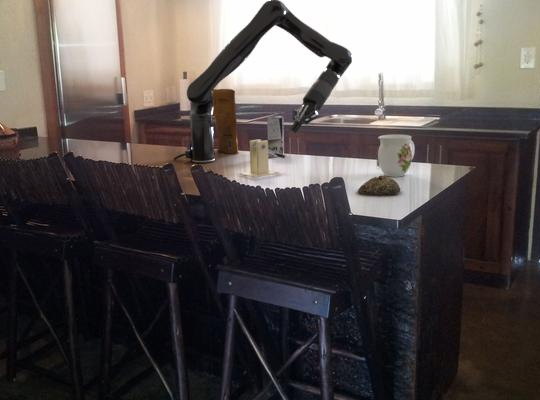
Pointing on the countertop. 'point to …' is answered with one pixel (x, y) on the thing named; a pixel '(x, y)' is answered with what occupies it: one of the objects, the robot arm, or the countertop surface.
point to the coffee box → (275, 135)
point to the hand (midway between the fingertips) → (292, 131)
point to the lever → (271, 152)
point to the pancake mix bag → (225, 120)
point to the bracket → (259, 159)
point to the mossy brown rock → (380, 186)
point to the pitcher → (395, 154)
